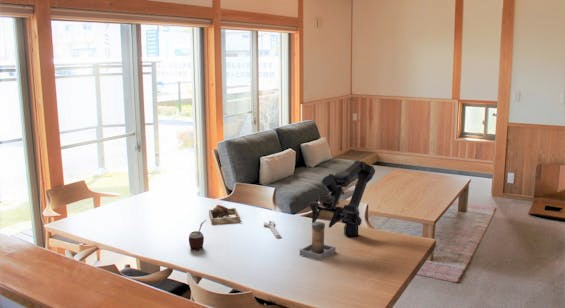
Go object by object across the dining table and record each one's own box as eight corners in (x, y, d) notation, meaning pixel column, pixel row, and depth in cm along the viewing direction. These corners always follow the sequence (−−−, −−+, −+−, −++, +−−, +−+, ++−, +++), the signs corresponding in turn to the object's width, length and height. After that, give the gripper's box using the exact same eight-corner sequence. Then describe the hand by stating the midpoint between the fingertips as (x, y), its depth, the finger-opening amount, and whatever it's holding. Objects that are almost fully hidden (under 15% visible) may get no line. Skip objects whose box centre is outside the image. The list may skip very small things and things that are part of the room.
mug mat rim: (235, 212, 311) (235, 208, 311) (240, 221, 295) (239, 216, 294) (209, 214, 308) (208, 209, 307) (211, 224, 291) (211, 218, 291)
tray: (314, 246, 255) (314, 242, 255) (335, 252, 248) (335, 247, 248) (299, 254, 245) (299, 249, 245) (320, 260, 238) (320, 255, 238)
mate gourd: (187, 247, 256) (186, 217, 253) (203, 245, 259) (202, 215, 256) (191, 252, 249) (190, 222, 247) (207, 250, 252) (206, 220, 250)
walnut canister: (317, 248, 251) (317, 221, 248) (326, 251, 247) (327, 223, 244) (308, 251, 247) (309, 223, 244) (318, 255, 242) (319, 226, 240)
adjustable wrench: (281, 239, 268) (281, 235, 268) (269, 240, 267) (269, 236, 267) (274, 223, 292) (274, 220, 292) (262, 224, 291) (262, 221, 291)
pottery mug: (208, 217, 306) (213, 203, 307) (223, 222, 308) (228, 209, 310) (212, 217, 294) (218, 203, 296) (228, 223, 297) (233, 209, 299)
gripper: (310, 185, 253) (297, 213, 247) (344, 191, 242) (331, 220, 235) (319, 197, 261) (307, 224, 254) (352, 203, 250) (340, 232, 243)
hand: (320, 225), depth 247 cm, fingers open, 9 cm apart
